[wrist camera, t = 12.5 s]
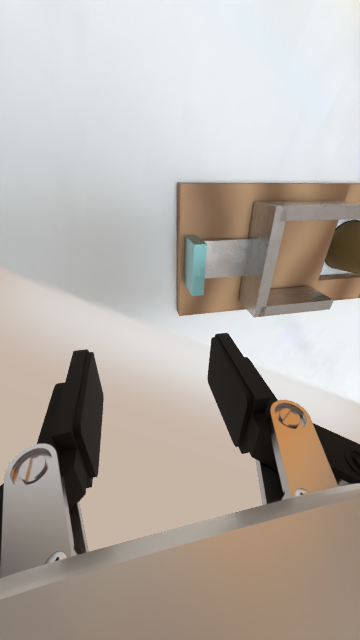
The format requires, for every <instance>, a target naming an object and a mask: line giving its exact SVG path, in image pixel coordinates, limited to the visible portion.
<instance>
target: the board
mask: <svg viewBox="0 0 360 640" xmlns="http://www.w3.org/2000/svg"><path fill="white" fill-rule="evenodd" d="M254 201H346V202H353V203H360V184H321V183H178V188H177V311H178V314H179V316H183V315H193V314H203V313H213V312H223V311H233V310H243V309H246V308H245V307H244V306H243V305H242V304H241V303H240V302H239V296H240V290H241V284H242V277H243V276H233V277H219V278H205V282H204V295H200V296H192V295H191V294H190V292H189V290H188V288H187V287H186V285H185V283H184V250H185V235H197V236H198V237H199V238H201V239H202V240H212V239H236V238H249V233H250V227H251V220H252V214H253V208H254ZM337 223H338V220H304V221H286V222H285V227H284V231H283V235H282V240H281V244H280V248H279V253H278V257H277V261H276V266H275V270H274V275H273V279H272V283H271V288H270V289H280V288H292V287H304V286H311V287H313V288H314V289H316V290H318V291H319V292H321V293H323V294H324V295H326V296H328V297H329V298H331V299H333V300H343V299H353V298H360V274H356V273H349V274H336V275H323V276H320V273H321V270H322V267H323V264H324V261H325V258H326V255H327V252H328V249H329V247H330V244H331V241H332V238H333V235H334V232H335V229H336V226H337Z"/></svg>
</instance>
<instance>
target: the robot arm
mask: <svg viewBox="0 0 360 640" xmlns="http://www.w3.org/2000/svg"><path fill="white" fill-rule="evenodd" d="M208 383H209V386H210V388H211V391H212V393H213V395H214V398H215V400H216V403H217V405H218V408H219V410H220V412H221V415H222V417H223V420H224V422H225V424H226V426H227V429H228V431H229V434H230V436H231V439H232V441H233V443H234V445H235V446H236V447H238V446H239V449H240V451H241V453H242V454H244V453H248V452H250V454H251V456H252V457H253V458H255V459H256V465H257V471H258V478H259V484H260V491H261V497H262V504H263V505H262V506H259V507H255V508H251V509H247V510H243V511H239V512H236V513H232V514H228V515H224V516H221V517H217V518H213V519H209V520H206V521H202V522H198V523H194V524H191V525H187V526H183V527H179V528H176V529H172V530H168V531H164V532H161V533H157V534H153V535H150V536H146V537H142V538H138V539H135V540H131V541H127V542H124V543H120V544H116V545H113V546H109V547H105V548H102V549H98V550H94V551H91V552H89V551H88V546H87V541H86V535H85V530H84V525H83V520H82V514H81V509H80V504H79V501H80V500H81V498H82V497H83V496H84V495H85V493H86V488H89V487H92V479H93V477H97V475H98V466H99V453H100V439H101V426H102V413H103V392H102V387H101V383H100V379H99V375H98V370H97V366H96V362H95V358H94V354H93V352H89V351H88V350H78V351H74V352H73V355H72V359H71V363H70V367H69V370H68V374H67V378H66V382H65V383H59V384H56V385H55V387H54V390H53V393H52V397H51V400H50V403H49V406H48V410H47V413H46V416H45V419H44V422H43V426H42V429H41V432H40V435H39V439H38V442H37V444H36V445H33V446H30V447H28V448H26V449H25V450H23V451H22V452H20V453H19V454H18V455H17V456H16V457H15V458H14V459H13V460H12V462H11V463H10V464H9V466H8V468H7V470H6V472H5V476H4V483H3V485H1V486H0V640H360V444H358V443H356V442H353V441H351V440H349V439H347V438H344V437H342V436H340V435H338V434H336V433H333V432H331V431H329V430H327V429H324V428H322V427H320V426H318V425H315V424H313V423H312V421H311V418H310V416H309V414H308V413H307V412H306V410H304V408H302V407H301V406H300V405H298V404H297V403H294V402H292V401H288V400H279V401H278V400H277V399H276V397H275V396H274V394H273V393H272V391H271V390H270V388H269V387H268V386H267V384H266V383H265V381H264V380H263V378H262V377H261V375H260V374H259V373H258V371H257V370H256V368H255V367H254V365H253V364H252V362H251V361H250V360H249V359H248V358H247V357H243V355H242V354H241V352H240V351H239V349H238V348H237V346H236V345H235V343H234V342H233V340H232V339H231V337H230V336H229V334H228V333H222V334H216V335H215V337H213V338H212V340H211V349H210V359H209V370H208Z"/></svg>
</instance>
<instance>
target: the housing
mask: <svg viewBox="0 0 360 640" xmlns="http://www.w3.org/2000/svg"><path fill="white" fill-rule="evenodd" d="M340 219H360V203H353V202H346V201H254V208H253V214H252V220H251V227H250V233H249V238H236V239H212V240H202V239H201V238H199V237H198V236H197V235H185V250H184V283H185V285H186V287H187V288H188V290H189V292H190V294H191V295H192V296H200V295H204V282H205V278H219V277H233V276H243V277H242V284H241V290H240V296H239V302H240V303H241V304H242V305H243V306H244V307H245V308H246V309H247V310H248V311H249V312H250V314H251V315H252V316H253V317H261V316H270V315H280V314H289V313H298V312H308V311H317V310H326V309H330V307H331V305H332V302H333V299H331V298H329V297H328V296H326V295H324V294H323V293H321V292H319V291H318V290H316V289H314V288H313V287H311V286H304V287H292V288H280V289H270V288H271V283H272V279H273V275H274V270H275V266H276V261H277V257H278V253H279V248H280V244H281V240H282V235H283V231H284V227H285V222H286V221H304V220H340Z"/></svg>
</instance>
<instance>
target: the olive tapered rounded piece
mask: <svg viewBox="0 0 360 640" xmlns="http://www.w3.org/2000/svg"><path fill="white" fill-rule="evenodd" d="M325 260H326V262H327V264H328V265H329V266H330V267H331V268H334V269H339V270H343V271H348V272H352V273H356V274H360V221H359V220H353V221H349V222H347V223H345V224H343V225H342V226H341V227H339V228H338V229H337V230H336V231H335V232H334V235H333V238H332V241H331V244H330V247H329V249H328V252H327V255H326V258H325Z"/></svg>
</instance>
